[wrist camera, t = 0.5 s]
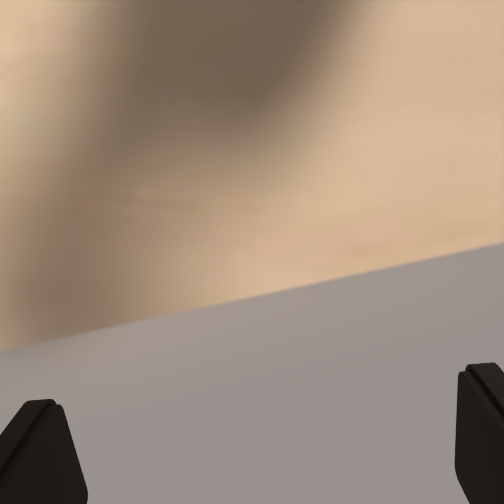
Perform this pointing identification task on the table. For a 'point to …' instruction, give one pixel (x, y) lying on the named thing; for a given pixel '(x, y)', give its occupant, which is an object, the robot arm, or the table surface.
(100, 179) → the table surface
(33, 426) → the robot arm
